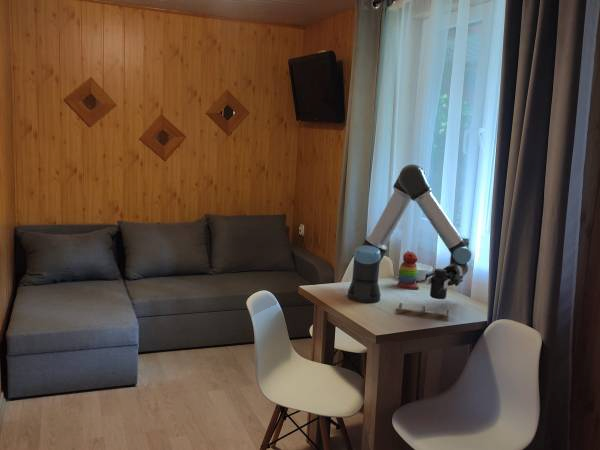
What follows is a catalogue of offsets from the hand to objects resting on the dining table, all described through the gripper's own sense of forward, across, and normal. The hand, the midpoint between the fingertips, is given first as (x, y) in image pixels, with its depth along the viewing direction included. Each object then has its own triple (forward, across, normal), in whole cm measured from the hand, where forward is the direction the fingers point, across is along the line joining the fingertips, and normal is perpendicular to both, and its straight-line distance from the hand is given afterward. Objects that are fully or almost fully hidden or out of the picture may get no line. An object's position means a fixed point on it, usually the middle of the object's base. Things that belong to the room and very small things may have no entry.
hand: (435, 283), depth 244 cm
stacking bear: (-42, +26, -15) cm, 52 cm away
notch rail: (-3, +5, -15) cm, 16 cm away
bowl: (-60, +28, -15) cm, 68 cm away
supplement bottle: (-5, 0, -7) cm, 9 cm away
